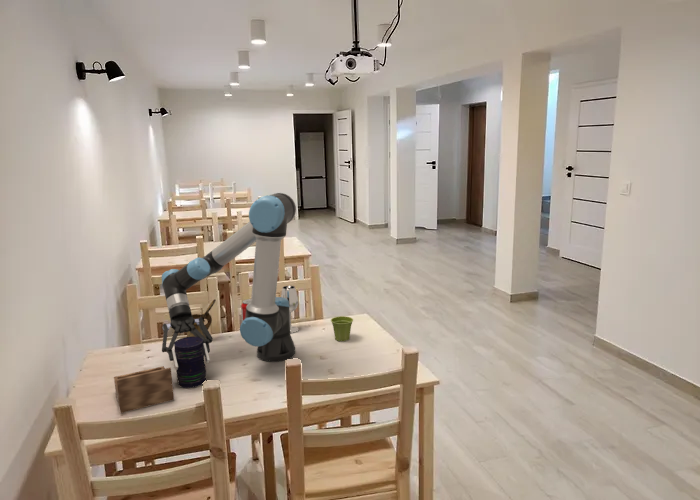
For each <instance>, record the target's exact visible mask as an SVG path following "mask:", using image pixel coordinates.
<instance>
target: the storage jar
mask: <svg viewBox="0 0 700 500" xmlns="http://www.w3.org/2000/svg"><path fill="white" fill-rule="evenodd" d="M173 347H174V350H175V355H176V359H177V364H178V370H175V372H176V378H177V385H178V387H180V388H183V389H184V388H186V389H193V388H197V387H200V386H202V385H203V384H202V383H203V382H204V381H205V380H206V381H207V369H206V368H207V365H206V364H205V356H204V355H205V352H204V344H203V339H202V338H201V337H195V336H192V337H187V336H185V337H181V338H179V339H176V340H175V343H174V346H173Z"/></svg>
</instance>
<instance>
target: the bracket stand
mask: <svg viewBox="0 0 700 500" xmlns="http://www.w3.org/2000/svg"><path fill="white" fill-rule="evenodd" d="M172 375H173V374H172V367H166V368H165V367H164V366H159V367H153V368H150V369H144V370H140V371H136V372H130V373H126V374H122V375H116V376H114V377H113V382H114V389H115V395H116V401H117V403H118V408H119V411H120V414H123V413H126V412H131V411H135V410H138V409H143V408H146V407H151V406H154V405H159V404H162V403H163V404H164V403H166V402H170V401H174V400H175V396H174V386H173V376H172Z"/></svg>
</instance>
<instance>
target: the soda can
mask: <svg viewBox="0 0 700 500" xmlns="http://www.w3.org/2000/svg"><path fill="white" fill-rule="evenodd" d="M250 302H251V298H248V299H244V300H242V303H241V305H240V312H241V322H242V321H243V320H244V319H245V317H246V306H247V305H248V304H249V303H250Z"/></svg>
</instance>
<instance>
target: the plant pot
mask: <svg viewBox="0 0 700 500" xmlns="http://www.w3.org/2000/svg"><path fill="white" fill-rule="evenodd" d="M330 322H331V324H332V328H333V333H334V339H335V340H336V341H338V342H346V341H349V340H350V338H351V337H350V336H351V330H352V324H353V322H354V318H352V317H350V316H345V315H341V316H334V317H332V318H331V319H330Z"/></svg>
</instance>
